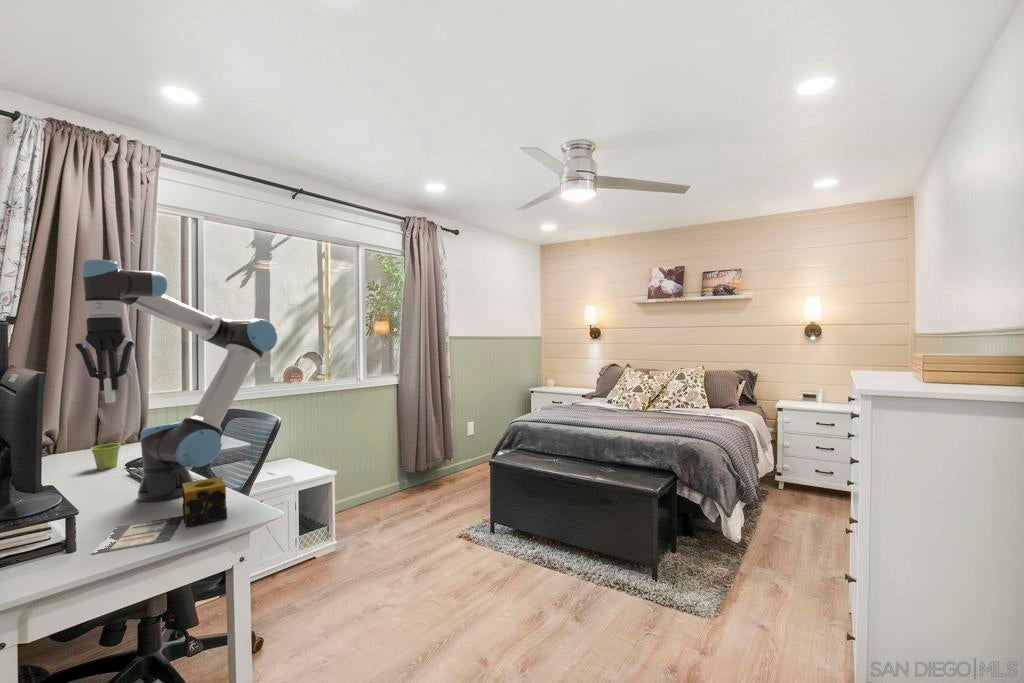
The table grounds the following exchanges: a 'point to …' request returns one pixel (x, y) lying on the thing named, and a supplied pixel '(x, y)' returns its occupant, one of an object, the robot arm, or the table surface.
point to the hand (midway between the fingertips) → (110, 402)
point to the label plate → (143, 533)
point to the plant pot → (106, 455)
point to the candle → (204, 501)
